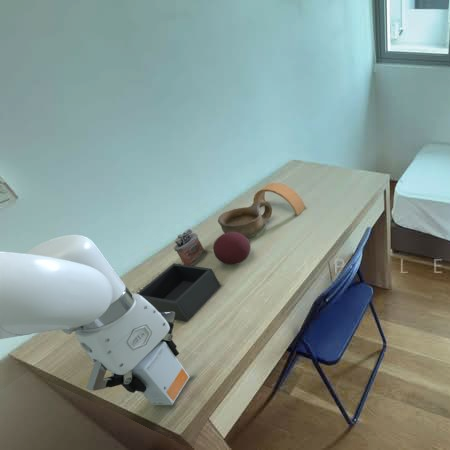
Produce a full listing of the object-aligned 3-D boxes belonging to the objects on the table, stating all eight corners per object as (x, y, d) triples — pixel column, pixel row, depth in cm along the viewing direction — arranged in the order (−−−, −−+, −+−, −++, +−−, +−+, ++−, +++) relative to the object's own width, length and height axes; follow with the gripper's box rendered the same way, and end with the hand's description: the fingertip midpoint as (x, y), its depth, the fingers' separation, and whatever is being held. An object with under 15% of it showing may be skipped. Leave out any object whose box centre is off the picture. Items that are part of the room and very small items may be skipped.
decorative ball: (261, 253, 99) (251, 227, 94) (240, 274, 92) (228, 248, 86) (236, 248, 102) (225, 223, 96) (213, 268, 94) (199, 242, 88)
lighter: (191, 268, 94) (177, 243, 89) (181, 267, 95) (166, 242, 89) (208, 251, 101) (196, 227, 95) (199, 251, 101) (186, 226, 96)
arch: (297, 216, 117) (290, 193, 111) (254, 208, 123) (246, 186, 117) (305, 208, 121) (300, 185, 116) (264, 201, 127) (257, 179, 122)
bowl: (250, 210, 119) (248, 188, 113) (281, 224, 117) (280, 203, 111) (212, 235, 106) (207, 213, 99) (246, 252, 104) (243, 230, 97)
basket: (187, 322, 78) (174, 303, 74) (146, 314, 80) (132, 296, 76) (221, 286, 88) (211, 268, 84) (184, 280, 90) (173, 263, 86)
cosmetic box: (173, 405, 60) (142, 370, 54) (152, 405, 60) (119, 370, 54) (191, 376, 65) (165, 340, 59) (172, 376, 65) (144, 340, 59)
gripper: (60, 359, 41) (130, 423, 51) (167, 273, 55) (206, 336, 65) (20, 350, 43) (95, 413, 53) (134, 268, 57) (176, 330, 67)
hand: (156, 370), depth 59 cm, fingers closed on cosmetic box, 6 cm apart
